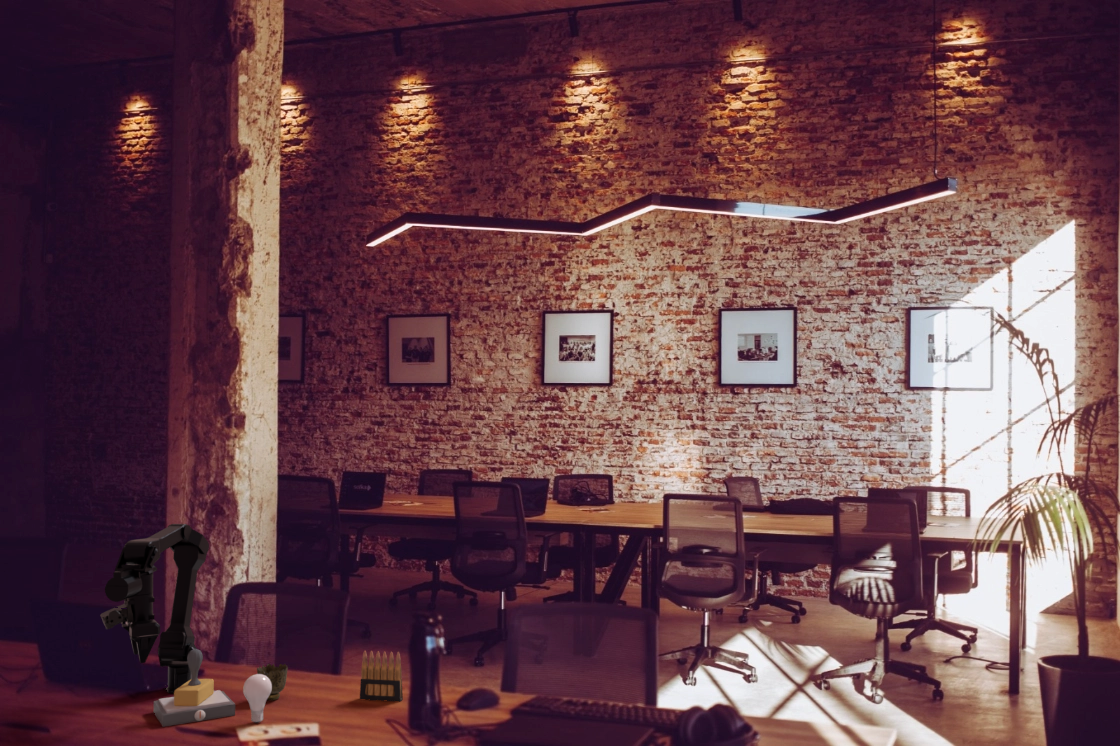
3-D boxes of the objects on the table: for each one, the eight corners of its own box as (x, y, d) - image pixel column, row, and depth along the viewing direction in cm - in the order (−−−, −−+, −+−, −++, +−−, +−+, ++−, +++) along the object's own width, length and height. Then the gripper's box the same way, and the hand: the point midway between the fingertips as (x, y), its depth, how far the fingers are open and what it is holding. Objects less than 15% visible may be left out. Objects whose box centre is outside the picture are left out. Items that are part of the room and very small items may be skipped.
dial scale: (153, 712, 228) (153, 698, 228) (222, 701, 236) (222, 688, 237) (163, 727, 216) (163, 713, 217) (235, 715, 225) (235, 702, 225)
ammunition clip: (359, 699, 238) (359, 651, 238) (362, 697, 240) (362, 649, 240) (400, 701, 236) (400, 652, 237) (402, 699, 238) (403, 651, 238)
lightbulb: (245, 728, 215) (245, 679, 216) (240, 720, 221) (241, 672, 222) (273, 724, 218) (274, 675, 219) (268, 716, 224) (269, 669, 225)
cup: (292, 695, 242) (292, 663, 242) (280, 703, 234) (281, 670, 235) (263, 694, 242) (264, 662, 243) (251, 703, 235) (252, 670, 236)
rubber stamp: (198, 706, 222) (198, 654, 223) (173, 706, 222) (174, 654, 223) (214, 694, 232) (214, 644, 232) (190, 694, 232) (191, 644, 233)
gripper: (98, 590, 233) (97, 654, 232) (108, 603, 217) (108, 673, 216) (147, 585, 239) (146, 648, 238) (160, 598, 223) (160, 665, 222)
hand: (139, 658), depth 229 cm, fingers open, 9 cm apart
